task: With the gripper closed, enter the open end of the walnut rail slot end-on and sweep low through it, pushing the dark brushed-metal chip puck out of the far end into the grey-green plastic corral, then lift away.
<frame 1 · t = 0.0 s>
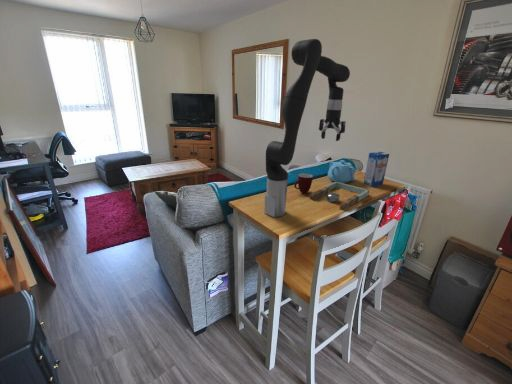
hand: (330, 139, 139), 29 cm above the table, fingers open, 8 cm apart
corral: (345, 193, 144), on the table
milk carton: (372, 184, 160), on the table
mug: (302, 192, 145), on the table
chip puck: (332, 201, 134), on the table
decorative pot: (339, 181, 166), on the table
slot rails: (333, 200, 135), on the table
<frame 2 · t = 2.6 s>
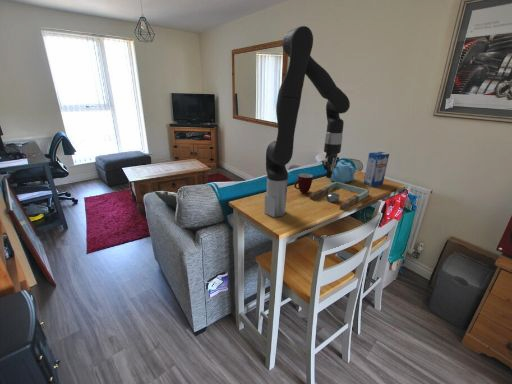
hand: (328, 177, 124), 15 cm above the table, fingers closed
nothing on the table moved.
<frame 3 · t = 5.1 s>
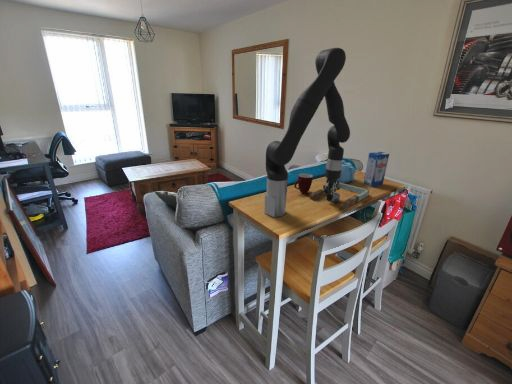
hand: (329, 200, 131), 2 cm above the table, fingers closed
chip puck: (333, 200, 135), on the table, touching gripper
everything else where it was.
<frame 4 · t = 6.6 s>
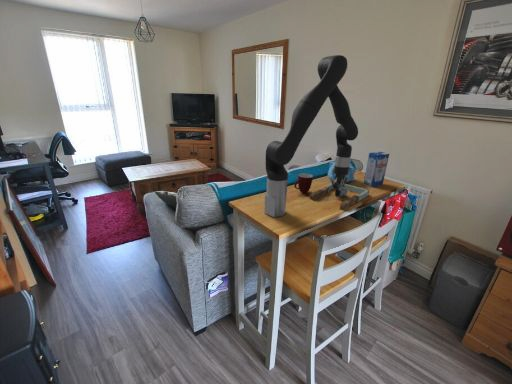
hand: (337, 195, 137), 2 cm above the table, fingers closed
chip puck: (340, 196, 141), on the table, touching gripper
everything else where it was.
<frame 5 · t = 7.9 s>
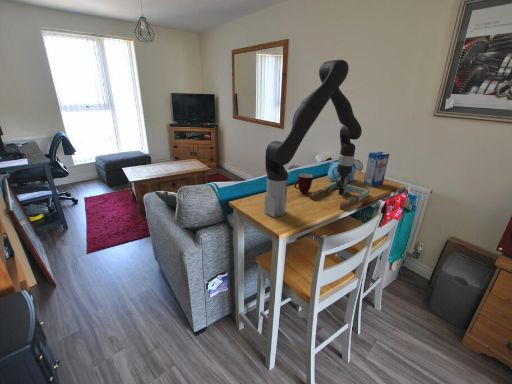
hand: (340, 193, 140), 2 cm above the table, fingers closed
chip puck: (344, 194, 144), on the table, touching gripper
everything else where it was.
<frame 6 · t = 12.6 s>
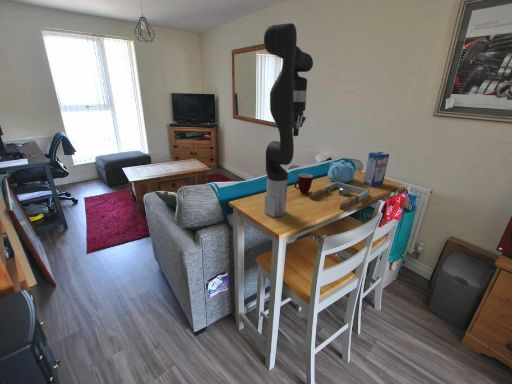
hand: (295, 135, 132), 32 cm above the table, fingers closed
chip puck: (344, 194, 144), on the table
everything else where it was.
at the end: chip puck inside the target area (2.3 cm from its centre), on the table; chip puck moved 13.7 cm from its start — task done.
